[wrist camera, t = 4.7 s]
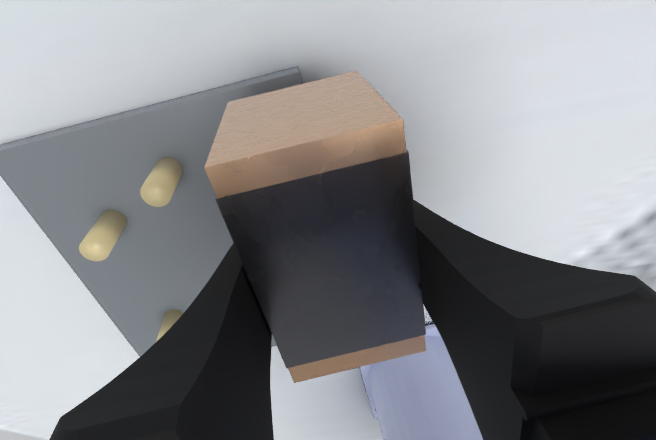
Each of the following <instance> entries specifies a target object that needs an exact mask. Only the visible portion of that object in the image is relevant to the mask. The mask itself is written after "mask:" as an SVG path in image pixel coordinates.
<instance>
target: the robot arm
mask: <svg viewBox="0 0 656 440" xmlns="http://www.w3.org/2000/svg"><path fill="white" fill-rule="evenodd" d="M413 205H414V215H415V226H416V236H417V246H418V256H419V267H420V277H421V287H422V298H423V304H424V306H425V308H426V310H427V311H428V313H429V315H430V317H431V319H432V320H433V322H434V324H432V325H428V326H425V328H426V335H425V344H426V351H424V352H419V353H415V354H411V355H407V356H403V357H399V358H395V359H391V360H387V361H382V362H378V363H374V364H370V365H366V366H362V367H360V370H361V374H362V377H363V381H364V384H365V388H366V391H367V395H368V398H369V402H370V405H371V409H372V412H373V416H374V418H376V419H379V423H380V427H381V431H382V435H383V439H384V440H656V292H655V291H654V290H652V289H651V288H650V287H649V286H647V285H646V284H645V283H644V282H642V281H641V280H640V279H638V278H637V277H635V276H632V275H625V274H619V273H612V272H605V271H598V270H592V269H586V268H581V267H576V266H571V265H567V264H562V263H557V262H553V261H549V260H545V259H541V258H538V257H535V256H531V255H528V254H524V253H521V252H518V251H515V250H512V249H509V248H506V247H504V246H501V245H499V244H496V243H493V242H491V241H488V240H486V239H484V238H481V237H479V236H477V235H475V234H473V233H471V232H469V231H466V230H464V229H462V228H460V227H459V226H457V225H455V224H453V223H451V222H449V221H448V220H446V219H444V218H442V217H441V216H439V215H437V214H436V213H434V212H432V211H431V210H429V209H427V208H426V207H424V206H423V205H421V204H419V203H418V202H416V201H415V200H413ZM271 341H272V333H271V330H270V328H269V325H268V323H267V321H266V318H265V316H264V314H263V311H262V309H261V307H260V304H259V302H258V299H257V297H256V295H255V292H254V290H253V288H252V285H251V283H250V281H249V278H248V276H247V273H246V271H245V269H244V266H243V264H242V262H241V259H240V257H239V254H238V252H237V250H236V247H235V245H234V243H233V244H232V246H231V247H230V249H229V250H228V252H227V253H226V255H225V256H224V258H223V259H222V261H221V263H220V264H219V266H218V267H217V269H216V270H215V272H214V273H213V275H212V276H211V278H210V279H209V281H208V282H207V284H206V285H205V286H204V288H203V289H202V290H201V292H200V293H199V294H198V296H197V297H196V298H195V300H194V301H193V302H192V304H191V305H190V306H189V307H188V308H187V310H186V311H185V312H184V313H183V314H182V316H181V317H180V318H179V319H178V320H177V321H176V322H175V323H174V324H173V325H172V327H171V328H170V329H169V330H168V331H167V332H166V333H165V334H164V335H163V336H162V337H161V338H160V339H159V340H158V341H157V342H156V343H154V344H153V345H152V346H151V347H150V348H149V349H148V350H147V351H146V352H145V353H144V354H143V355H142V356H141V357H140V358H138V359H137V360H136V361H135V362H134V363H133V364H131V365H130V366H129V367H128V368H127V369H126V370H124V371H123V372H122V373H121V374H119V375H118V376H117V377H116V378H114V379H113V380H112V381H111V382H109V383H108V384H107V385H105V386H104V387H103V388H101V389H100V390H99V391H97V392H96V393H95V394H93V395H92V396H90V397H89V398H88V399H86V400H85V401H83V402H82V403H81V404H79V405H78V406H76V407H75V408H74V409H72V410H71V411H69V412H68V413H66V414H65V415H63V416H62V417H61V418H60V419H59V421H58V423H57V425H56V427H55V429H54V431H53V434H52V436H51V438H50V440H274V439H273V425H272V411H271V394H270V362H271Z"/></svg>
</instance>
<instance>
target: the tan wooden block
mask: <svg viewBox="0 0 656 440" xmlns="http://www.w3.org/2000/svg"><path fill="white" fill-rule="evenodd" d="M204 168H205V171H206V173H207V175H208V178H209V180H210V183H211V185H212V187H213V190H214V192H215V195H216V198H215V200H216V202H217V205H218V207H219V210H220V212H221V214H222V217H223V219H224V221H225V224H226V226H227V228H228V231H229V233H230V236H231V238H232V240H233V243H234V245H235V247H236V250H237V252H238V254H239V257H240V259H241V262H242V264H243V266H244V269H245V271H246V273H247V276H248V278H249V281H250V283H251V285H252V288H253V290H254V292H255V295H256V297H257V299H258V302H259V304H260V307H261V309H262V311H263V314H264V316H265V318H266V321H267V323H268V325H269V328H270V330H271V333H272V335H273V337H274V340H275V342H276V344H277V347H278V349H279V351H280V354H281V356H282V359H283V361H284V363H285V366H286V368H288V369H289V371H290V374H291V376H292V378H293V381H294V383H296V382H300V381H304V380H308V379H312V378H316V377H321V376H325V375H329V374H333V373H337V372H341V371H345V370H349V369H354V368H358V367H362V366H366V365H370V364H374V363H378V362H382V361H387V360H391V359H395V358H399V357H403V356H407V355H411V354H415V353H419V352H424V351H426V344H425V335H426V328H425V318H424V308H423V298H422V287H421V277H420V267H419V256H418V246H417V236H416V226H415V215H414V205H413V195H412V184H411V174H410V164H409V154H408V151H407V150H406V145H405V135H404V125H403V119H402V118H401V117H400V116H399V115H398V114H397V113H396V112H395V110H394V109H393V108H392V107H391V106H390V105H389V104H388V103H387V102H386V101H385V100H384V99H383V98H382V97H381V96H380V95H379V94H378V93H377V92H376V91H375V90H374V89H373V88H372V87H371V86H370V85H369V83H368V82H367V81H366V80H365V79H364V78H363V77H362V76H361V75H360V74H359V73H358V72H357V71H353V72H349V73H345V74H341V75H336V76H332V77H328V78H324V79H320V80H316V81H312V82H308V83H304V84H300V85H296V86H292V87H287V88H283V89H279V90H275V91H271V92H267V93H263V94H259V95H255V96H251V97H247V98H242V99H238V100H234V101H230V102H228V103H227V106H226V109H225V112H224V114H223V117H222V120H221V123H220V125H219V128H218V131H217V134H216V137H215V139H214V142H213V145H212V148H211V150H210V153H209V156H208V159H207V162H206V164H205V167H204Z"/></svg>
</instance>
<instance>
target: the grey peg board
mask: <svg viewBox="0 0 656 440" xmlns="http://www.w3.org/2000/svg"><path fill="white" fill-rule="evenodd" d="M300 84H303V83H302V79H301V75H300V71H299V68H298V66H297V67H294V68H290V69H286V70H282V71H278V72H275V73H271V74H267V75H263V76H260V77H256V78H252V79H248V80H244V81H241V82H237V83H233V84H229V85H225V86H222V87H218V88H214V89H210V90H207V91H203V92H199V93H195V94H191V95H188V96H184V97H180V98H176V99H172V100H169V101H165V102H161V103H157V104H154V105H150V106H146V107H142V108H138V109H135V110H131V111H127V112H123V113H119V114H116V115H112V116H108V117H104V118H101V119H97V120H93V121H89V122H85V123H82V124H78V125H74V126H70V127H66V128H63V129H59V130H55V131H51V132H48V133H44V134H40V135H36V136H32V137H29V138H25V139H21V140H17V141H13V142H10V143H6V144H2V145H0V176H1V177H2V178H3V180H4V181H5V182H6V184H7V185H8V186H9V187H10V189H11V190H12V191H13V193H14V194H15V195H16V196H17V198H18V199H19V200H20V202H21V203H22V204H23V206H24V207H25V208H26V209H27V211H28V212H29V213H30V215H31V216H32V217H33V219H34V220H35V221H36V222H37V224H38V225H39V226H40V228H41V229H42V230H43V232H44V233H45V234H46V235H47V237H48V238H49V239H50V241H51V242H52V243H53V245H54V246H55V247H56V248H57V250H58V251H59V252H60V254H61V255H62V256H63V258H64V259H65V260H66V261H67V263H68V264H69V265H70V267H71V268H72V269H73V270H74V272H75V273H76V274H77V276H78V277H79V278H80V280H81V281H82V282H83V283H84V285H85V286H86V287H87V289H88V290H89V291H90V293H91V294H92V295H93V296H94V298H95V299H96V300H97V302H98V303H99V304H100V306H101V307H102V308H103V309H104V311H105V312H106V313H107V315H108V316H109V317H110V319H111V320H112V321H113V322H114V324H115V325H116V326H117V328H118V329H119V330H120V332H121V333H122V334H123V335H124V337H125V338H126V339H127V341H128V342H129V343H130V344H131V346H132V347H133V348H134V350H135V351H136V352H137V354H138V355H139V356H140V357H141V356H142V355H143V354H144V353H145V352H146V351H147V350H148V349H149V348H150V347H151V346H152V345H153V344H154V343H156V342H157V341H158V340H159V339H160V338H161V337H162V336H163V335H164V334H165V333H166V332H167V331H168V330H169V329H170V328H171V327H172V325H173V324H174V323H175V322H176V321H177V320H178V319H179V318H180V317H181V316H182V314H183V313H184V312H185V311H186V310H187V308H188V307H189V306H190V305H191V304H192V302H193V301H194V300H195V298H196V297H197V296H198V294H199V293H200V292H201V290H202V289H203V288H204V286H205V285H206V284H207V282H208V281H209V279H210V278H211V276H212V275H213V273H214V272H215V270H216V269H217V267H218V266H219V264H220V263H221V261H222V259H223V258H224V256H225V255H226V253H227V252H228V250H229V249H230V247H231V246H232V244H233V240H232V238H231V236H230V233H229V231H228V228H227V226H226V224H225V221H224V219H223V217H222V214H221V212H220V210H219V207H218V205H217V202H216V200H215V198H216V195H215V192H214V190H213V187H212V185H211V183H210V180H209V178H208V175H207V173H206V171H205V168H204V167H205V164H206V162H207V159H208V156H209V153H210V150H211V148H212V145H213V142H214V139H215V137H216V134H217V131H218V128H219V125H220V123H221V120H222V117H223V114H224V112H225V109H226V106H227V103H228V102H230V101H234V100H238V99H242V98H247V97H251V96H255V95H259V94H263V93H267V92H271V91H275V90H279V89H283V88H287V87H292V86H296V85H300ZM276 345H277V344H276V342H275V340H274V337H273V335H272V341H271V347H272V346H276Z"/></svg>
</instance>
